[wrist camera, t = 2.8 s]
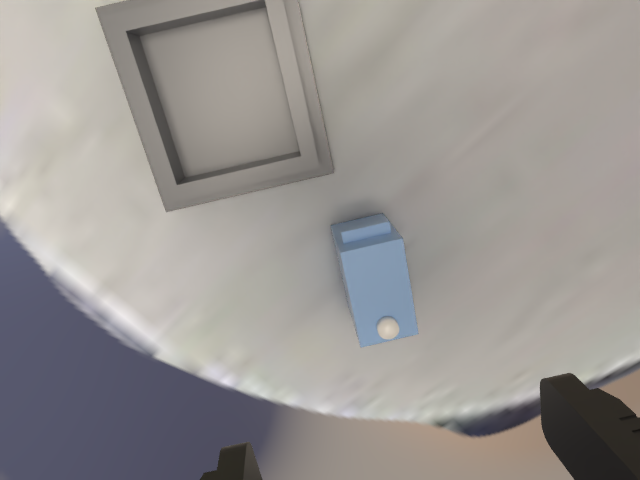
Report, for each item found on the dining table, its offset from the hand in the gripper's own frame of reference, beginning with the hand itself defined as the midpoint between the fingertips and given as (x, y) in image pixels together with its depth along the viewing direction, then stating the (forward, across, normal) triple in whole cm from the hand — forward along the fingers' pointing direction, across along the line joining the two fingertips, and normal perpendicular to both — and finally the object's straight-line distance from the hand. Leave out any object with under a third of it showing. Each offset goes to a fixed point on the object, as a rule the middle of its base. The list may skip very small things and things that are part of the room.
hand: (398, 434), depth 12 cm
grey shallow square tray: (+22, +5, -10) cm, 25 cm away
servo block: (+22, -2, +4) cm, 23 cm away
